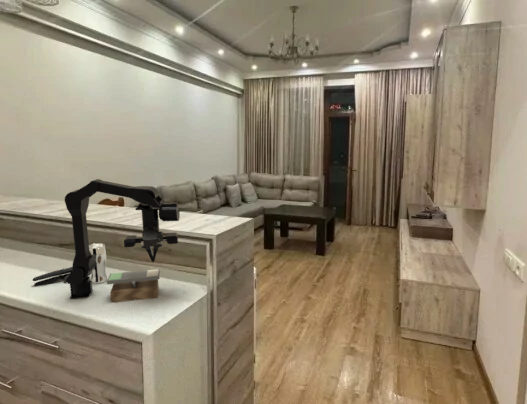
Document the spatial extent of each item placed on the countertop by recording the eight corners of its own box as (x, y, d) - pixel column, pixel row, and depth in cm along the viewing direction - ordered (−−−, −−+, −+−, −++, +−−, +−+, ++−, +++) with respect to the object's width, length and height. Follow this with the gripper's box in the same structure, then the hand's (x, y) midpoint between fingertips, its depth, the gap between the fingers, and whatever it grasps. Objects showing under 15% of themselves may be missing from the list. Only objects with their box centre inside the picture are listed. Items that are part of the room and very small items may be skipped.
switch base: (111, 302, 128) (109, 288, 127) (115, 291, 136) (113, 278, 135) (157, 297, 132) (156, 283, 130) (158, 287, 140) (157, 273, 139)
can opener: (83, 275, 152) (81, 262, 151) (83, 281, 146) (81, 268, 145) (34, 283, 145) (32, 270, 144) (32, 289, 139) (30, 276, 137)
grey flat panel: (107, 286, 127) (106, 280, 127) (110, 278, 134) (110, 273, 134) (159, 281, 132) (159, 275, 131) (160, 274, 138) (159, 268, 138)
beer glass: (101, 284, 142) (97, 249, 139) (86, 283, 144) (82, 248, 141) (112, 277, 149) (108, 243, 146) (97, 276, 150) (93, 242, 147)
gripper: (120, 228, 120) (123, 272, 123) (176, 225, 124) (179, 267, 128) (124, 220, 131) (127, 260, 134) (176, 217, 135) (178, 256, 138)
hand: (153, 261), depth 133 cm, fingers closed
